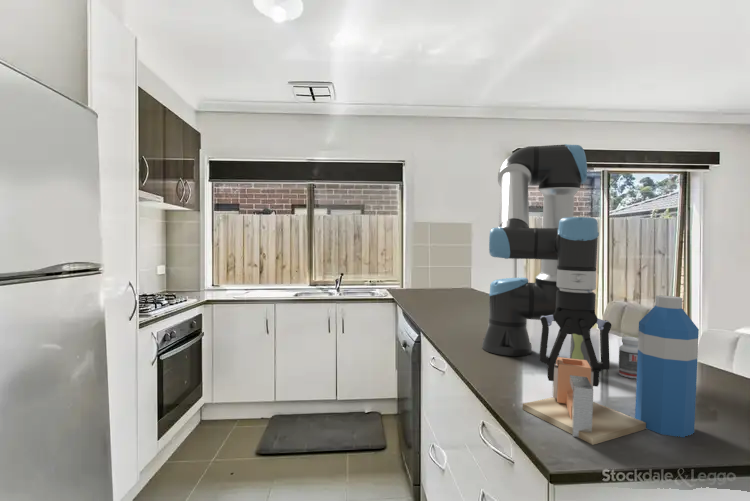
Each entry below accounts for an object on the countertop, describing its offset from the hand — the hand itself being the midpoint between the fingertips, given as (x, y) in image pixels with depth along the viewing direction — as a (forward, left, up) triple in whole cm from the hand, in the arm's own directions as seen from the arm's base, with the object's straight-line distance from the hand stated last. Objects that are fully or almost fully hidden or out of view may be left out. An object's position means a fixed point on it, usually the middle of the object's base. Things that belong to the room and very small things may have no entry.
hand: (571, 397), depth 87 cm
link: (+3, -3, 0) cm, 4 cm away
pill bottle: (-8, +33, -2) cm, 34 cm away
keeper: (+7, -7, -2) cm, 11 cm away
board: (+5, -4, -2) cm, 6 cm away
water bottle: (+14, +9, -2) cm, 16 cm away
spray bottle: (-15, +22, -2) cm, 27 cm away
